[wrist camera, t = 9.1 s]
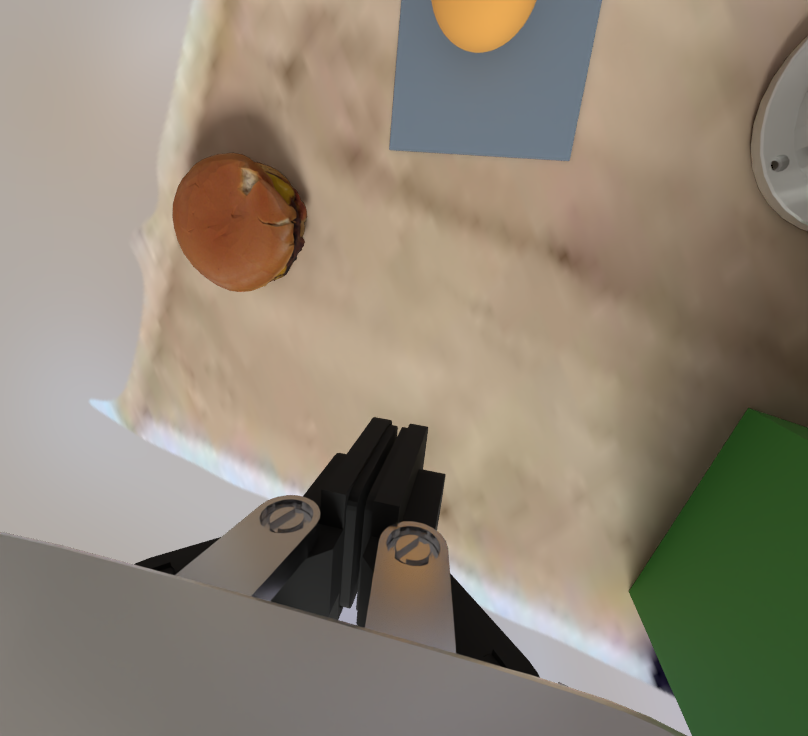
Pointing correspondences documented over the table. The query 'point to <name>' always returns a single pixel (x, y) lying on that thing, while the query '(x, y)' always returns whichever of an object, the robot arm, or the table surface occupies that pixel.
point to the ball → (481, 21)
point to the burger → (238, 221)
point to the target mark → (493, 85)
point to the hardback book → (737, 588)
